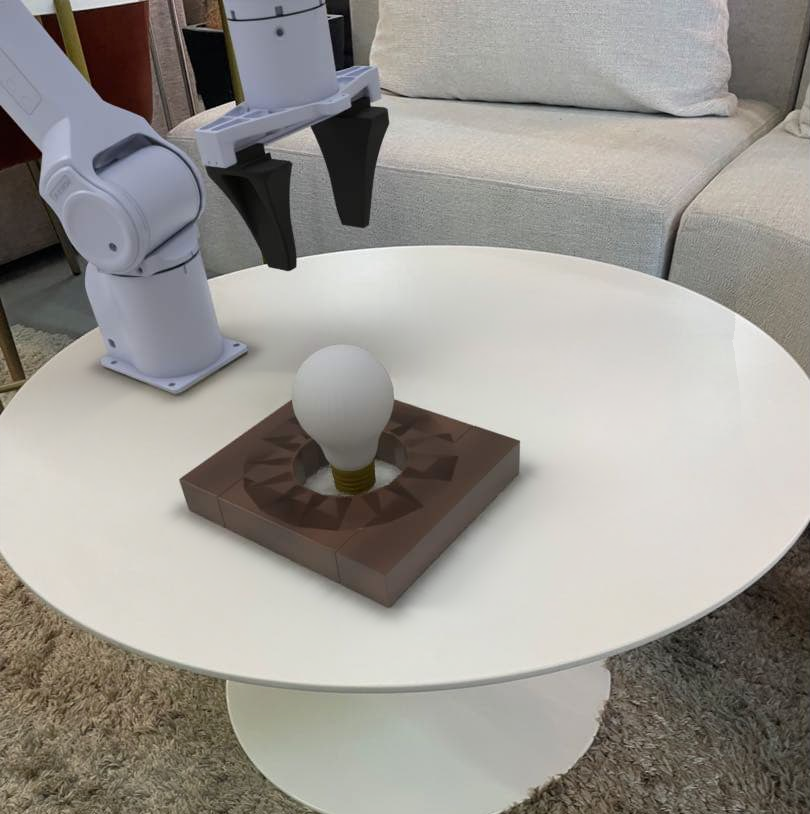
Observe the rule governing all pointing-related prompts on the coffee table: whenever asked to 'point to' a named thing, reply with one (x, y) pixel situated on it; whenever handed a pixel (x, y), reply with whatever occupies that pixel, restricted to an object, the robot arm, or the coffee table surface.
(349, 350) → the light bulb
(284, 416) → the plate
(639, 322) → the coffee table surface
